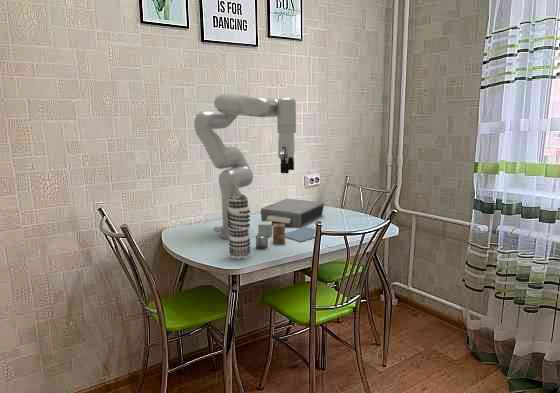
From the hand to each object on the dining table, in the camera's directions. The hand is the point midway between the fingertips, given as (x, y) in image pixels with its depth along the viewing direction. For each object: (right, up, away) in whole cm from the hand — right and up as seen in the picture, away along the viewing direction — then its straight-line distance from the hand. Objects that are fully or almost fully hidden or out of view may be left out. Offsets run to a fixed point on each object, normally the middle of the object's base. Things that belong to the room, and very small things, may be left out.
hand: (287, 171), depth 172 cm
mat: (+8, -28, +24) cm, 38 cm away
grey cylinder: (-11, -32, +7) cm, 35 cm away
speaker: (+3, -23, +52) cm, 57 cm away
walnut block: (-3, -31, +14) cm, 34 cm away
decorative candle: (-19, -34, -2) cm, 40 cm away
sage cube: (-10, -29, +25) cm, 39 cm away
